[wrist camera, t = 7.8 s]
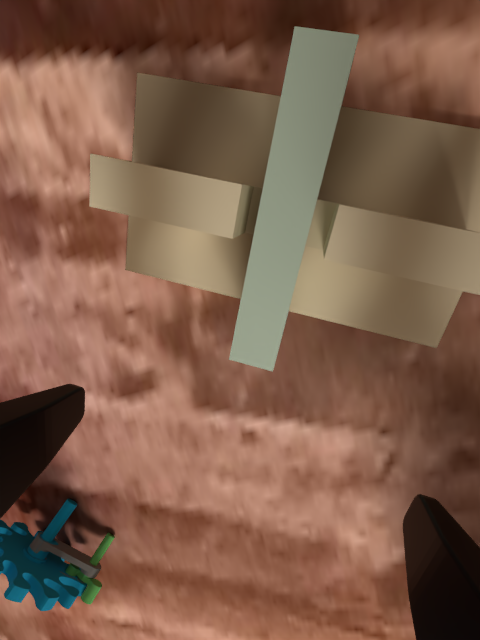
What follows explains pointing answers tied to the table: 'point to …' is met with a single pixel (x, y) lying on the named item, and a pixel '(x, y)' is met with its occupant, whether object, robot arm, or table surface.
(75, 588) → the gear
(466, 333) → the table surface
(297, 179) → the sage board
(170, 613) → the table surface
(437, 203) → the maple jig
